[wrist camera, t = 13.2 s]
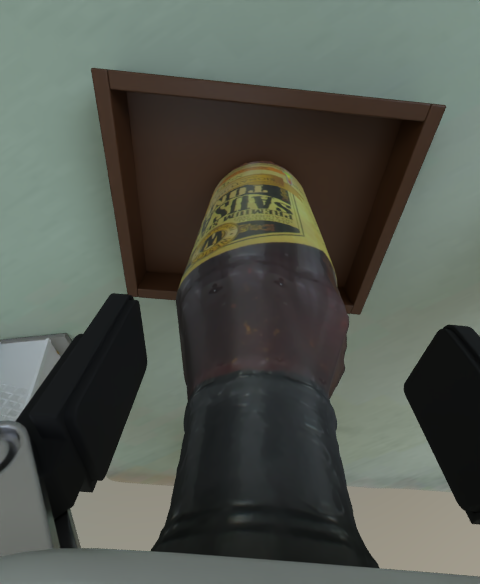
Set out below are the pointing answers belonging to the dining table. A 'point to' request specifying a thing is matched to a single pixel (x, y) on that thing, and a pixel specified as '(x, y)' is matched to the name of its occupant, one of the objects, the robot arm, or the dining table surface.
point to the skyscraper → (26, 369)
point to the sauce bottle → (261, 383)
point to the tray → (250, 148)
